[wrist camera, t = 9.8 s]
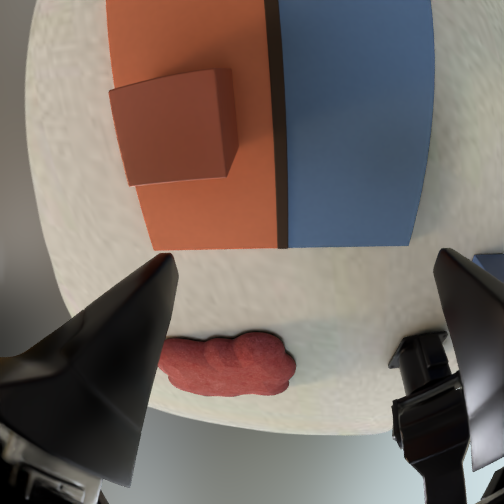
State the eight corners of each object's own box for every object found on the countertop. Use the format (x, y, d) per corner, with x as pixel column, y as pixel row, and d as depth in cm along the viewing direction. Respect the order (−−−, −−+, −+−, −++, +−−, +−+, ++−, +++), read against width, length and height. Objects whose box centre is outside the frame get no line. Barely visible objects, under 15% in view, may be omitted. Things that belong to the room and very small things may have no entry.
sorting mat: (406, 241, 20) (409, 246, 19) (156, 246, 22) (153, 251, 21) (423, -16, 8) (428, -18, 8) (109, -5, 10) (104, -7, 9)
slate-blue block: (487, 289, 23) (506, 322, 19) (456, 293, 23) (475, 329, 19) (504, 253, 20) (528, 286, 16) (474, 254, 20) (499, 291, 16)
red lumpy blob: (287, 326, 27) (287, 342, 25) (301, 386, 35) (301, 399, 33) (136, 335, 30) (130, 349, 28) (183, 389, 38) (180, 401, 36)
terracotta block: (239, 148, 16) (227, 178, 12) (162, 155, 17) (128, 187, 13) (231, 68, 13) (215, 67, 9) (149, 81, 14) (107, 91, 10)
